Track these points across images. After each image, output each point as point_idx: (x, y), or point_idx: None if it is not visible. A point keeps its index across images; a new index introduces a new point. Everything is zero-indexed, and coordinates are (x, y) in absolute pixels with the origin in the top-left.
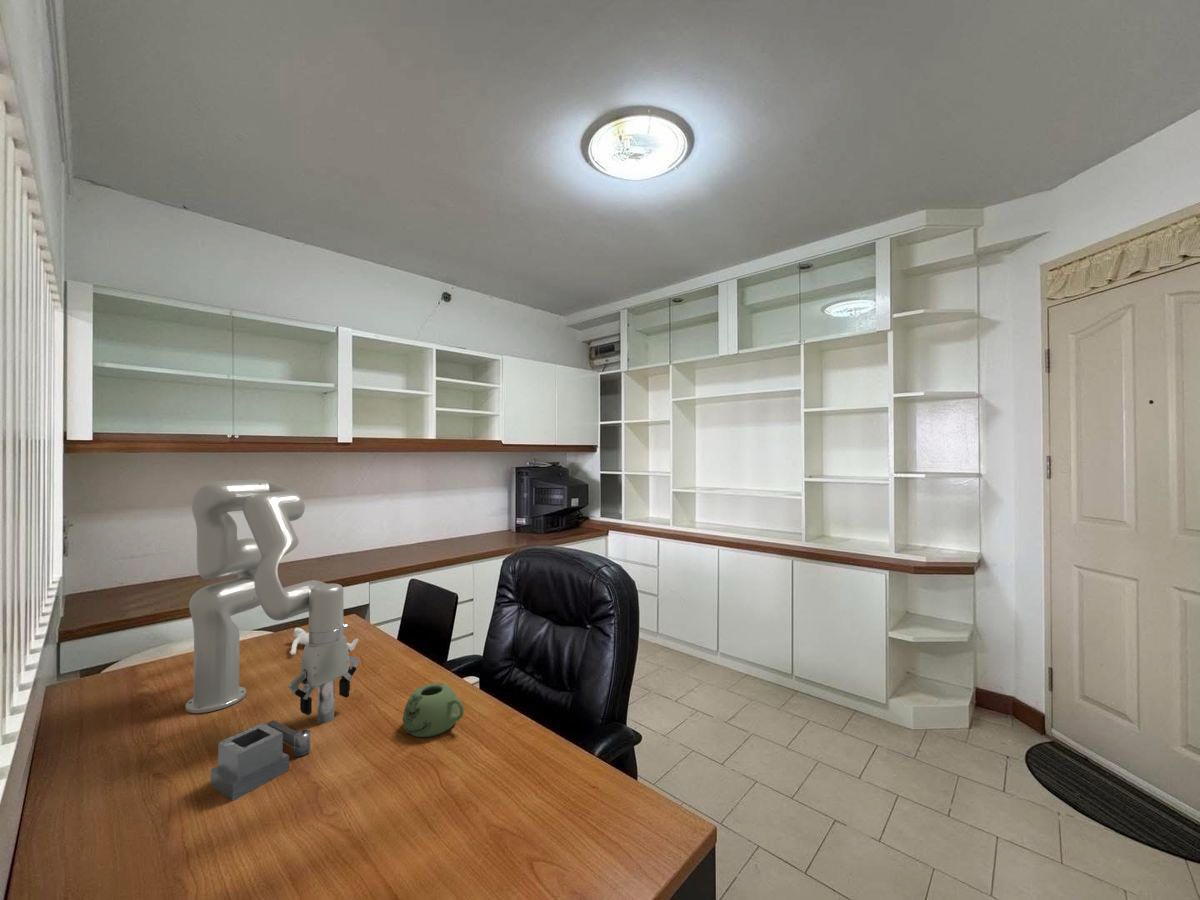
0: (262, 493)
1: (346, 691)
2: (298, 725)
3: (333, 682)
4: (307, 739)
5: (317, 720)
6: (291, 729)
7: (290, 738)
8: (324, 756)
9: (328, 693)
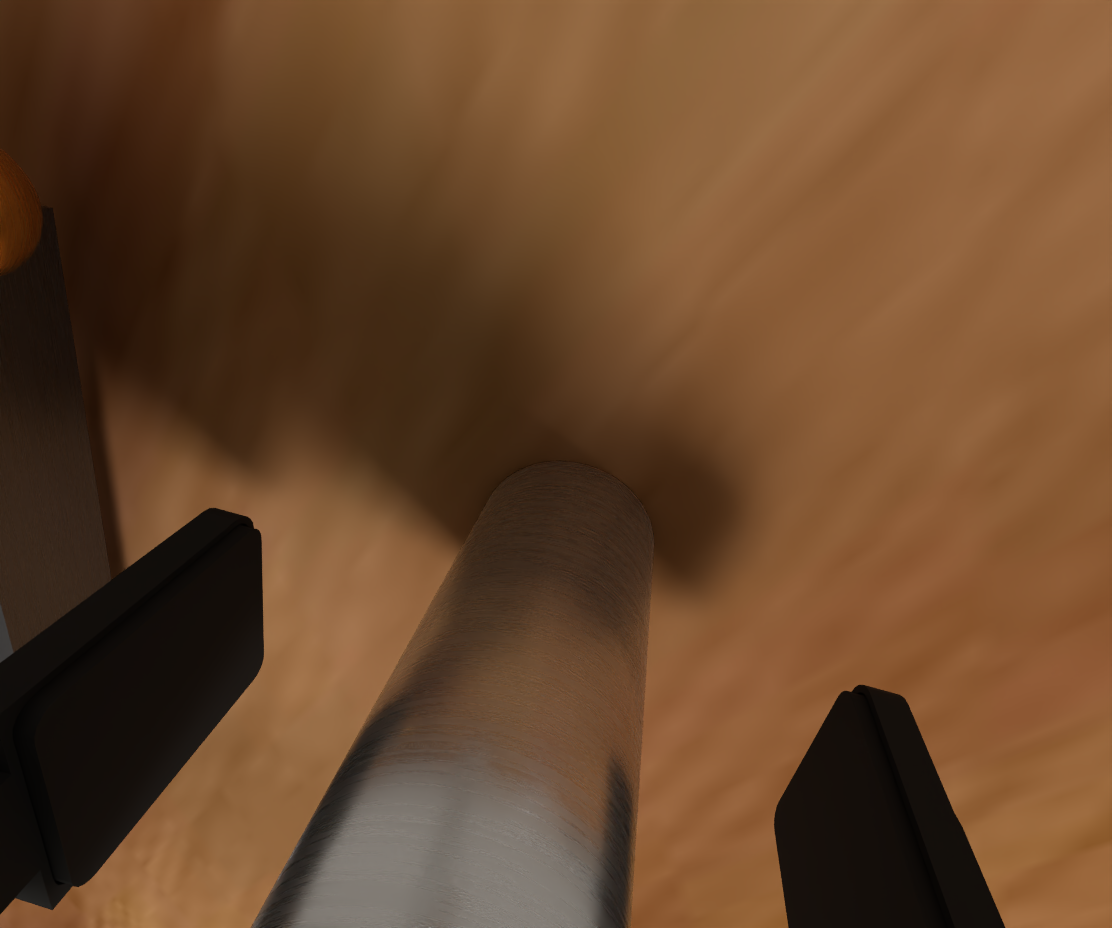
0: None
1: (793, 916)
2: (356, 330)
3: None
4: None
5: (495, 491)
6: (9, 648)
7: None
8: (210, 837)
9: None
